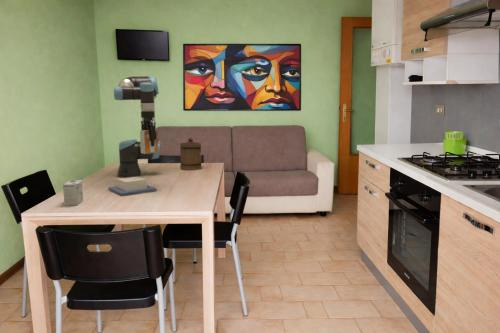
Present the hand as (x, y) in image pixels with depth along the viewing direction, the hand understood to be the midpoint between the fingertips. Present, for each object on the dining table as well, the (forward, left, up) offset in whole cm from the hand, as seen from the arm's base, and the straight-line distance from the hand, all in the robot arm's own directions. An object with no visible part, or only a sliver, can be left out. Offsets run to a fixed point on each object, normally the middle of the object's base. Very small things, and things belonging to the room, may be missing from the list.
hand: (149, 151), depth 271 cm
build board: (+1, -12, -21) cm, 24 cm away
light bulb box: (+11, -47, -21) cm, 53 cm away
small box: (0, 0, -1) cm, 1 cm away
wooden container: (-45, +52, -21) cm, 72 cm away
